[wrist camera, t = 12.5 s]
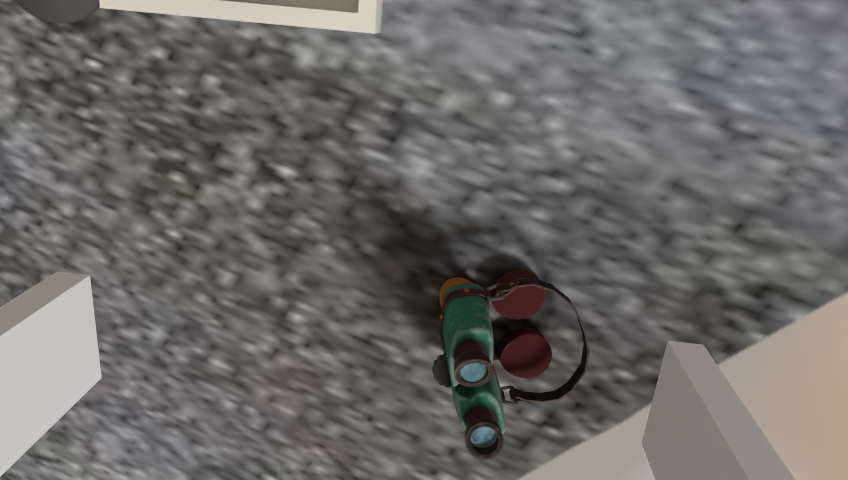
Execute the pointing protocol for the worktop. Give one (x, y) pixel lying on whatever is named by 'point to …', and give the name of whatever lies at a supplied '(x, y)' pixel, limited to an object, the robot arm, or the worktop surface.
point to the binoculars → (494, 353)
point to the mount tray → (270, 11)
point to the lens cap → (60, 9)
